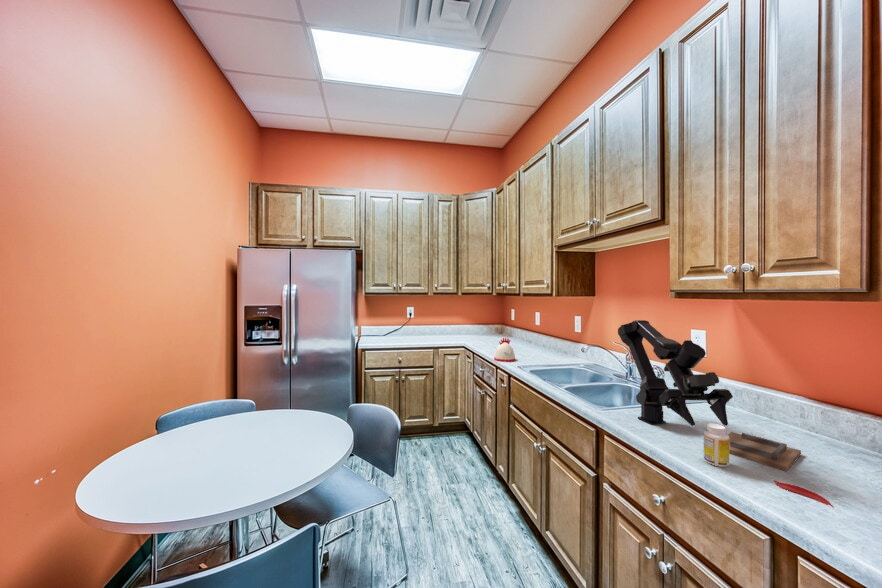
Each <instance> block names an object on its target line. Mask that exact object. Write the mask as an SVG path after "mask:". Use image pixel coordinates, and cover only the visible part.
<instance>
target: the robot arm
mask: <svg viewBox="0 0 882 588" xmlns="http://www.w3.org/2000/svg"><path fill="white" fill-rule="evenodd" d="M650 323H651V322H650V321H648V320H645V319H644V320H643V319H641V320H640V319H636V320H633V321H632V322H628V323H626V324H620V326H619V327H618V328H617V334H618V336H619V338H620V340H621V342H622V343H624V345H626V346H627V347H628V348H629V351H630V353H631V355H632V359H633V361H634V363H635V366H636V369H637V371H638V374H639V376H640V379H641V382H640V385H639V389H640V390H639V391H638V393H637V394H636V396H635V398H636V402H637V403H638V404H640V405H641V409H640V411H641V413H640V416H637V419H638V420H641V421H642V422H645V423H647V424H649V425H661V424H666V423H667V420H666V421H665V420H664V407H666V408H667V409H670V410H671V411H673V412H674V413H676V414H677V415H679V416H680V417H681V418H682V419H684V420H685V421H686V422H687V423H688V424H690V425H691V427H693V426H695V425H696V423H695V420H694V417H693V415H692V414H691V412H690V410H689V408H688V406H687V402H686V401H706V402H707V404H708V405H710V406H709V408H710V410H711V411H712V413H714V415H715V416H716V417H717V419H718V420H719V421H720V423H722V424H723V426H724V427H726V426H728V425H729V421H728V416H727V410H726V409H727V403H729V401H731V399H733V398H734V396H733V394H732V393H731V391H730V390H729V389H727V388H714V389H712V390H711V391H710V392H709V393H705V392H707V391H708V390H709V387H712V386H713V387H715V386H716V384H719V383H720V378H719V376H718V375H717V373H716V372H714V371H711V372H706V373H705V374H704V373H703V374H700V373H698V374H695V373H693V371H692V369H694V368H695V367H696V366H698V364H699V363H700V362H701V361H702V360H703V359H704V358H705V356H706V350H705V349H704V348H703V347H702V346H700V345H699V344H697V343H694V341H692V340H691V339H689V340H688V339H687V340H684V341H683V342H682V344H681V343H680V342H678V341H677V340H674V339H671V338H668V337H666V336H665V335H663V334H662V333H661V332H659V331H658V330H657V329H656V328H655V327H654V326H652V325H651V324H650ZM643 339H644V340H646V341H647V343H649V344H650V345H651V346H652V347H653V353H654V354H655V356H656V357H657V358H658V360H661V361H665V360H666V361H668V362H666V363H665V364H664V365H665V366H664V367H663V371H664V372H669V374H670V376H671V377H672V379H673V381H674V382H673V383H672V385H673V387H674V388H669V387H668V386H667V383H666V380H665V379H664V378H661V377H658V376H657V375H656V372H655V371H654V368H653V366H652V363H651V361H650V359H649V356H648V354H647V352H646V349H645V346H644V344H643V341H644V340H643Z"/></svg>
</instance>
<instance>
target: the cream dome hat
mask: <svg viewBox="0 0 882 588" xmlns="http://www.w3.org/2000/svg"><path fill="white" fill-rule="evenodd" d="M510 342H511V339H510V338H509V337H503V338H502V339H500V340H499V341H498V343H499V345H497V347H496V348H495V352H494V354H493V355H494V357H493V361H496V362H501V363H510V362H511V363H512V362H515V361H516V355H515V351H514V348H513V347H512V346H511V345H510Z"/></svg>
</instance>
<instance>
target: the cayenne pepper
mask: <svg viewBox="0 0 882 588" xmlns="http://www.w3.org/2000/svg"><path fill="white" fill-rule="evenodd" d="M773 482H774V484H775V486H777V487H778V486H779V487H778V488H780V489H783V490H784V489H785V491H787V490H788V491H787V492H791V493H792V494H796V495H799V496H803V497H806V498H807V499H808V498H809V499H811V500H814V501H816V502H818V503H822V504H824V505H826V506H830V507H832V508H834V506H833V504H832V503H831V502H830V501H828V499H826V498H825V497H824V496H822V495H820V494H818V493H816V492H814V491H812V490H810V489H807V488H806V487H805V488H804V487H802V486H799V485H797V484H796V485H795V484H793V483H792V484H791V483H787V482H781V481H777V480H774V479H773Z"/></svg>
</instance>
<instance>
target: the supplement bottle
mask: <svg viewBox="0 0 882 588" xmlns="http://www.w3.org/2000/svg"><path fill="white" fill-rule="evenodd" d="M706 427H707V428H706V429H705V430H704V431H703V460H704V461H705V462H706V463H707V464H709V465H711V464H712V465H711V466H714V465H715V466H716V467H719V468H727V467H729V466H730V454H729V436H728V435H727V434H728V433H726V432H727V431H726V430H727V429H726V426H724V425H721V424H717V423H713V422H712V423H707V425H706Z"/></svg>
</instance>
